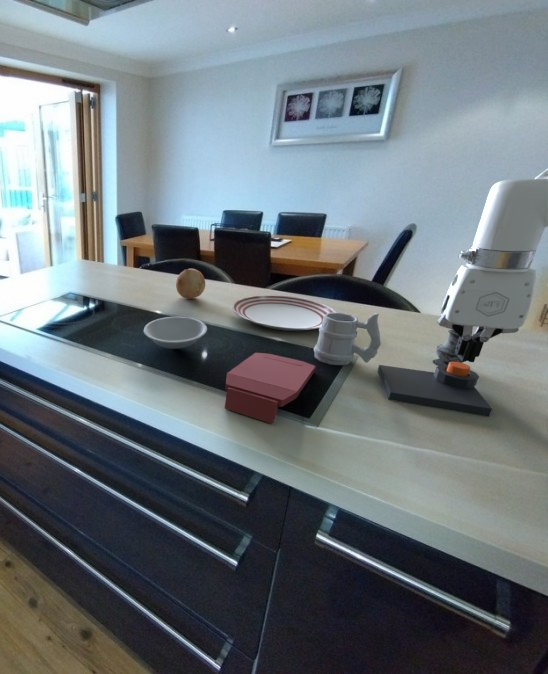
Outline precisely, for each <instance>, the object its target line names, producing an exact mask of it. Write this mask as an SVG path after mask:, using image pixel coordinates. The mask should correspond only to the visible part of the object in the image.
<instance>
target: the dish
mask: <svg viewBox="0 0 548 674" xmlns="http://www.w3.org/2000/svg"><path fill="white" fill-rule="evenodd" d="M207 332H208V327H207V324H206V323H205V322H203V321H201V320H199V319H196V318H193V317H190V316H189V317H187V316H165V317H161V318H157V319H154V320H152V321H150V322H148V323H147V324H146V325H145V326H144V328H143V333H144V335H145V336H146V337H147V338H149V339H150V340H151V341H152V342H153V343H154V344H155V345H157V346H158V347H161V348H163V349H167V350H168V349H169V350H180V349H184V348H188V347H190V346H192V345H194V344H195V343H196V342H198V341H199V340H200V339H201V338H203V337H204V336H205V335H206V334H207Z"/></svg>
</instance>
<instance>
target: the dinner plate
mask: <svg viewBox="0 0 548 674" xmlns="http://www.w3.org/2000/svg"><path fill="white" fill-rule="evenodd" d="M231 309H232V311H233V312H234V314H235V315H237V316H238V317H240V318H242V319H244V320H246V321H248V322H250V323H253V324H255V325H257V326H260V327H264V328H267V329H271V330H278V331H285V332H297V331H298V332H300V331H309V330H310V331H311V330H317V329H318V330H319V328H320V326H321V325H322V322H323V318H324V315H326V314H327V313H333V312H334V313H338V312H337V311H336V310H335V309H334V308H332V307H331V306H328V305H326V304H324V303H322V302H319V301H315V300H313V299H309V298H303V297H298V296H292V295H283V294H281V295H280V294H258V295H257V294H256V295H250V296H246V297H241V298H239V299H237V300H235V301H234V302H233V303H232V304H231Z"/></svg>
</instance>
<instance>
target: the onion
mask: <svg viewBox="0 0 548 674" xmlns="http://www.w3.org/2000/svg"><path fill="white" fill-rule="evenodd" d="M175 289H176V291H177V293H178V295H180V296H181V297H182V298H184V299H189V300H191V299H194V298H198V297H200V296H201V295H202V294H203V293H204V291H205V289H206V280H205V277H204V274H202V272H201V271H200V270H198V269H195V268H188V269H184V270H183V271H181V272H180V273H179V274H178V276H177V277H176V280H175Z"/></svg>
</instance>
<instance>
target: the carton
mask: <svg viewBox="0 0 548 674" xmlns="http://www.w3.org/2000/svg"><path fill="white" fill-rule="evenodd" d="M315 371H316V365H314V364H312V363H308V362H306V361H304V360H299V359H294V358H290V357H285V356H281V355H277V354H273V353H265V352H254V353H253V354H252V355H250V356H249V357H247V358H246V359H244V360H243V361H242V362H240V363H239V364H237V365H236V366H235V367H233V368H232V369H230V370H229V371H228V372H227V373H226V378H225V390H224V391H226V397H225V403H224V409H225V410H228V409H229V411H232V412H233V413H234V412H235V413H237V414H240V415H243V416H247V417H250V418H253V419H256V420H259V421H263V422H266V423H269V424H273V423H274V422H275V421H276V418H277V414H278V413H277V412H278V409H279V407H280V408H283V407H284V406H286V405H288V404H289V403H291V402H292V401H294V400H296V399H297V398H298V396H299V395H300V393H301V392H302V391H303V389H304V388H305V387H306V384H307V383H308V382H309V380H310V379H311V378H312V376H313V374H314V373H315ZM274 420H275V421H274Z"/></svg>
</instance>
